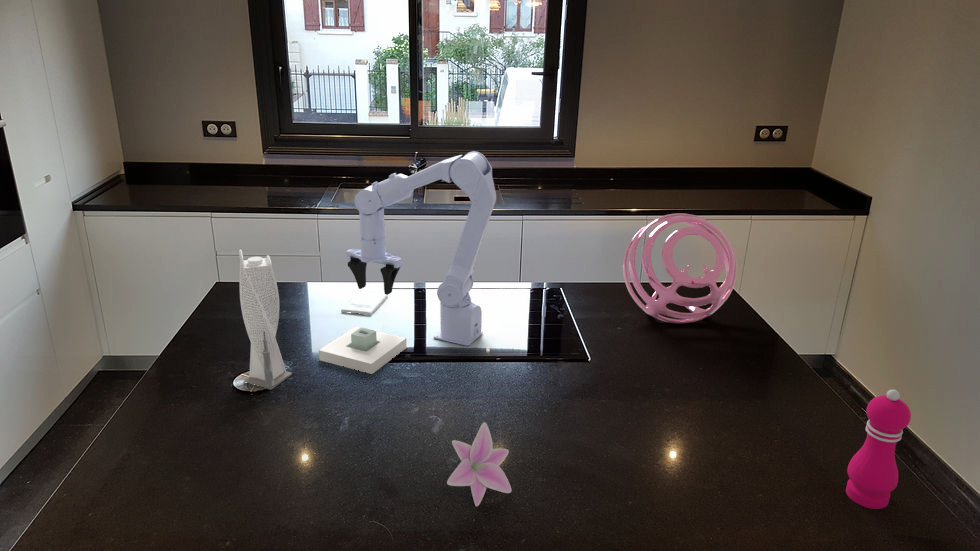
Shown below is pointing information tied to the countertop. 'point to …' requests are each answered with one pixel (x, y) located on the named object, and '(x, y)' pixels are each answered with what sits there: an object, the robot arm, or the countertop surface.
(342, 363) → the outlet plate
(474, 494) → the lily
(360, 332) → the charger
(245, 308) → the skyscraper
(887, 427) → the pepper mill
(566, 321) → the countertop surface
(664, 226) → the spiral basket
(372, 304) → the external hard drive
